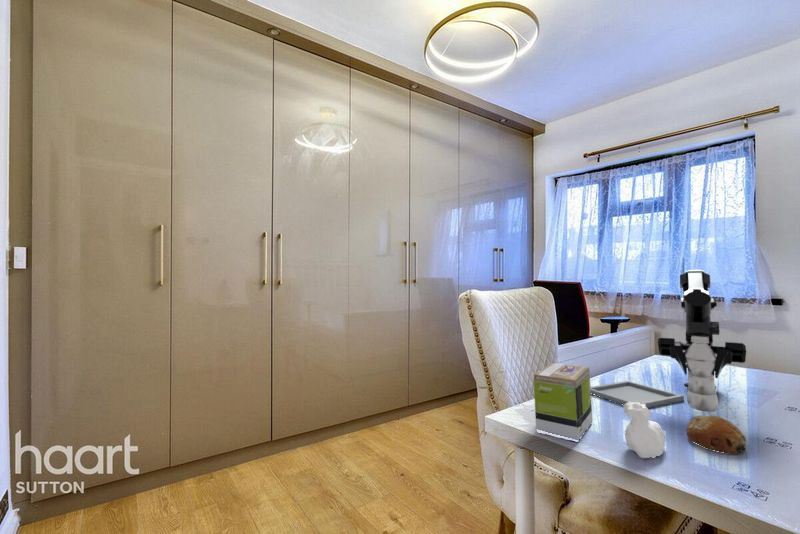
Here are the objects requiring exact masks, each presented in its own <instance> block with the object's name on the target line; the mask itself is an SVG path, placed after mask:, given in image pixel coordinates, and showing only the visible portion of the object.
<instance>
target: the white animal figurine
mask: <svg viewBox="0 0 800 534" xmlns="http://www.w3.org/2000/svg"><path fill="white" fill-rule="evenodd" d="M622 406H623V405H622ZM622 408H623V412H624V413H625V415H626V416H627V418H628V419H630V418H631V420H630V422H629V424H627V425H626V428H625V430H624V432H625V433H624V438H625V442H626V446H627V447H628V449H630V450H631V451H633V452H635V453H636V454H637V456H638V457H639V458H641V459H651V458H650V457H656V456H658V457H660V456H661V455H663V453H664V448H665V446H666V434H665V432H664V431H663V429H662V427H661V426H660V424H659V423H658V422H656V421H654V420H653V421H652V420H649V419H650V417H651V416H652V412H651V410H650V408H649V409H648V408H647V407H646V404H642V405H641V404H640V403H639V402H636V403H635V402H628V403H626V404H625V405H624V406H623V407H622ZM656 458H657V457H656Z"/></svg>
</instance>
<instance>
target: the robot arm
mask: <svg viewBox="0 0 800 534" xmlns="http://www.w3.org/2000/svg"><path fill="white" fill-rule="evenodd" d="M679 286H680V289H682V294H683V297H681V298H680V299H681V300H680V307H681V310H684V313H685V341H686V342H682V341H678V340H676V338H675V337H668V336H667V337H665V336H660V337H658V339H657V347H658V354H659V355H661V356H667V357H670V358H671V359H673V360H676V361H677V363H678V364H679V366H680V368H681V369H682V371H683V373H684V375H687V377H688V382H685V383H683V385H684V386H685V387H688V385H689V373H688V367H687V362H686V357H685V353H686V350H687V349H688V348H689V347H690V346H691V345H692V342H691V335H706V336H709V343H708V346H709V347H710V348H711V349H712V350H713V352H714V353H715V355H716V363H715V370H714V379H718V378H719V376H720V374H721V372H722V370H723V369H724V368H725V366H726V365H731V364H733V363H737V364H738V363H739V364H740V363H741V364H743V363H744V364H745V363H746V359H747V358H746V357H747V347H746V345H745V344H744V343H743V342H736V341H735V342H734V341H724V346H717V345H713V343H714V339H713V338H714V337H713V335H715V336H720V322H718V321H712V320H711V314H712V311H713V310H715V307H718V304H717V301H715V299H714V298H713V297H711V295H710V291H709V289H711V275H710V274H709V273H706V272H705V270H702V269H691V270H690V269H688V270H685V273H684V272H683V274H679ZM716 388H717V386H716V385H715V389H716Z"/></svg>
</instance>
